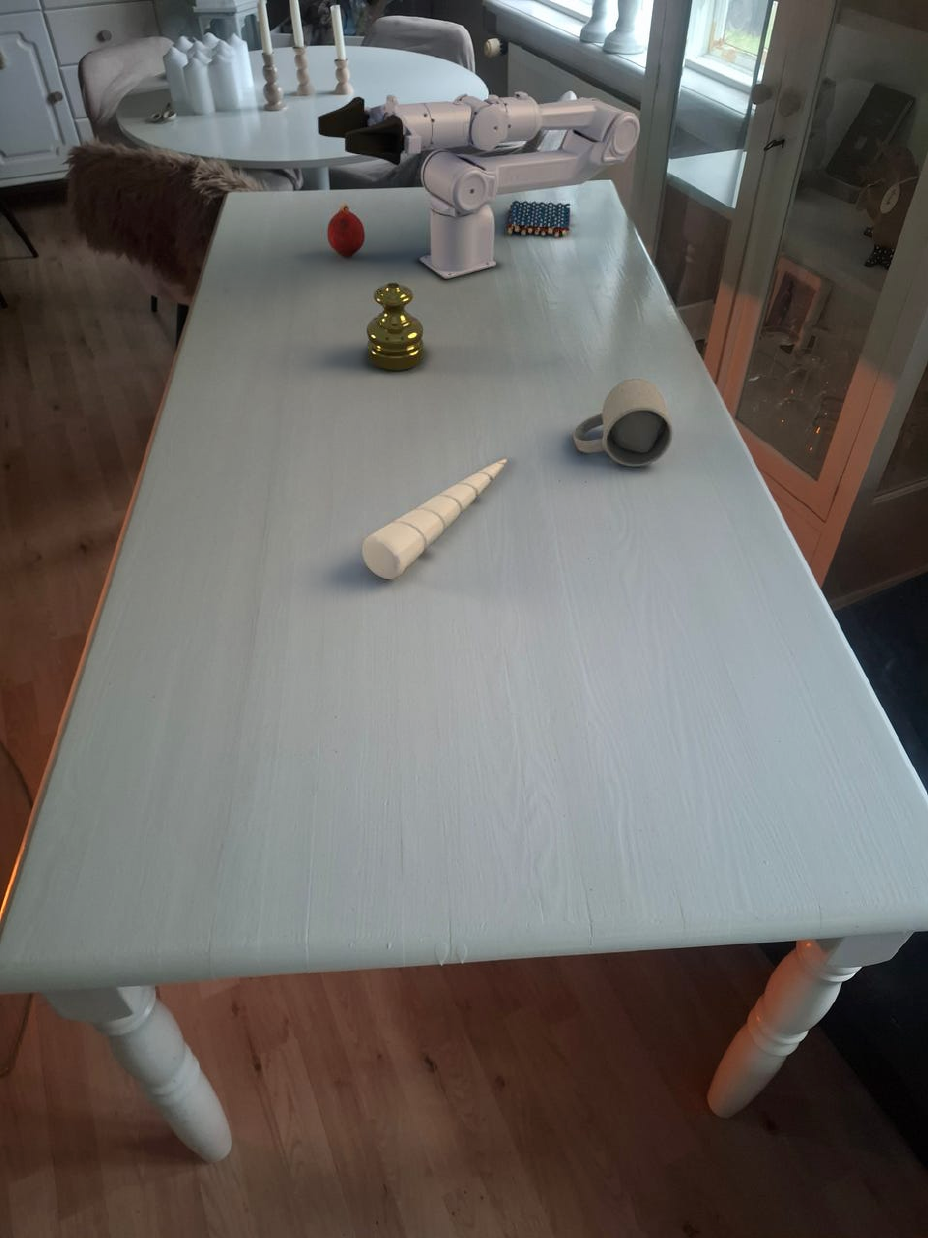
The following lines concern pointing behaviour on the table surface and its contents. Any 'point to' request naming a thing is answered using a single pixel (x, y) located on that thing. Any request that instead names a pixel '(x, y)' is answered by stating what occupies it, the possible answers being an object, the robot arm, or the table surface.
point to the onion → (345, 232)
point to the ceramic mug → (630, 425)
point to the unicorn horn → (422, 525)
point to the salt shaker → (394, 331)
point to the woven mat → (538, 217)
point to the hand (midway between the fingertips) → (332, 134)
